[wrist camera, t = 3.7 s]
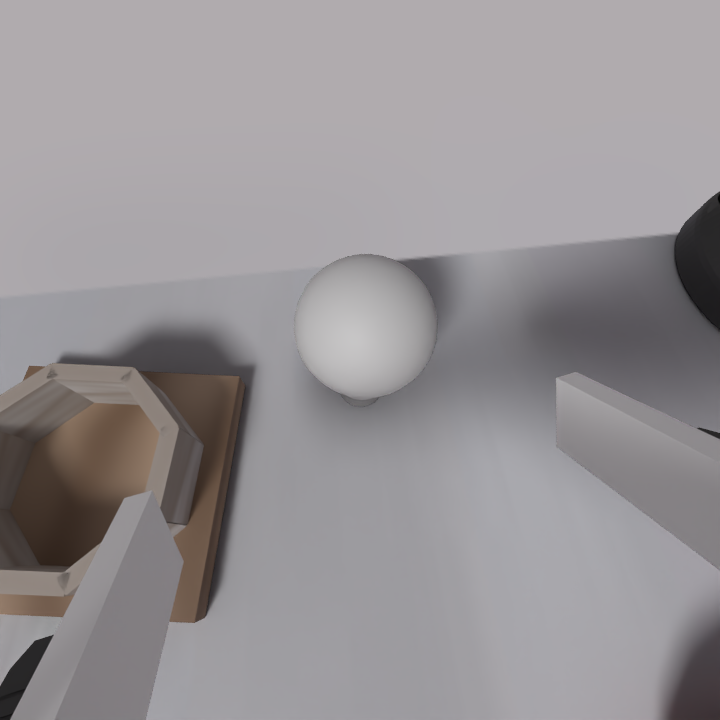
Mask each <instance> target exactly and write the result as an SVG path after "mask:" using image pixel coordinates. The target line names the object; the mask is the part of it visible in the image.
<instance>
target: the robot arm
mask: <svg viewBox="0 0 720 720" xmlns="http://www.w3.org/2000/svg"><path fill="white" fill-rule="evenodd" d="M675 251H676V263H677V267H678V271H679V274H680V276H681V279H682V281H683V283H684V285H685V288H686V289H687V291H688V293H689V294H690V296H691V297H692V299H693V300H694V302H695V303H696V304H697V306H698V307H699V308H700V310H701V311H702V312H703V313H704V314H705V315H706V316H707V317H708V318H709V320H710V321H711V322H712V323H714V324H715V325H716V326H717V327H718V328H719V329H720V192H718V193H717V194H715V195H714V196H713V197H712V198H710V199H709V200H708V201H707V202H706V203H705V204H704V205H703V206H702V207H701V208H700V209H699V210H697V211H696V212H695V213H694V214H693V215H692V216H691V217H690V218H689V219H688V220H687V221H686V222H685V224H684V225H683V227H682V228H681V230H680V232H679V234H678V238H677V242H676V250H675ZM556 426H557V447H558V448H559V449H560V450H562V451H563V452H564V453H566V454H567V455H568V456H569V457H571V458H572V459H573V460H575V461H576V462H577V463H579V464H580V465H581V466H583V467H584V468H585V469H587V470H588V471H589V472H591V473H592V474H593V475H595V476H596V477H597V478H599V479H600V480H601V481H603V482H604V483H605V484H606V485H608V486H609V487H610V488H612V489H613V490H614V491H616V492H617V493H618V494H620V495H621V496H622V497H624V498H625V499H626V500H628V501H629V502H630V503H632V504H633V505H634V506H636V507H637V508H638V509H640V510H641V511H642V512H643V513H645V514H646V515H647V516H649V517H650V518H651V519H653V520H654V521H655V522H657V523H658V524H659V525H661V526H662V527H663V528H665V529H666V530H667V531H669V532H670V533H671V534H673V535H674V536H675V537H677V538H678V539H679V540H680V541H682V542H683V543H684V544H686V545H687V546H688V547H690V548H691V549H692V550H694V551H695V552H696V553H698V554H699V555H700V556H702V557H703V558H704V559H706V560H707V561H708V562H710V563H711V564H712V565H714V566H715V567H716V568H717V569H719V570H720V433H717V432H714V431H710V430H706V429H702V428H695V427H692V426H690V425H688V424H686V423H684V422H682V421H680V420H677V419H675V418H673V417H671V416H669V415H667V414H665V413H663V412H660V411H658V410H656V409H654V408H652V407H650V406H648V405H645V404H643V403H641V402H639V401H637V400H635V399H633V398H631V397H628V396H626V395H624V394H622V393H620V392H618V391H616V390H614V389H611V388H609V387H607V386H605V385H603V384H601V383H599V382H596V381H594V380H592V379H590V378H588V377H586V376H584V375H582V374H579V373H577V372H574V373H570V374H567V375H563V376H560V377H556ZM183 562H184V561H183V559H182V557H181V554H180V552H179V550H178V548H177V545H176V543H175V541H174V539H173V536H172V534H171V532H170V530H169V527H168V525H167V523H166V521H165V518H164V516H163V514H162V511H161V509H160V507H159V505H158V502H157V500H156V498H155V496H154V493H153V491H152V490H151V491H148V492H144V493H141V494H137V495H133V496H130V497H126V498H124V500H123V502H122V504H121V506H120V507H119V509H118V511H117V513H116V515H115V517H114V519H113V521H112V523H111V525H110V527H109V529H108V531H107V533H106V535H105V537H104V539H103V540H102V542H101V544H100V546H99V548H98V550H97V552H96V554H95V556H94V558H93V560H92V562H91V564H90V566H89V568H88V570H87V572H86V573H85V575H84V577H83V579H82V581H81V583H80V585H79V587H78V589H77V591H76V593H75V595H74V597H73V599H72V601H71V603H70V604H69V606H68V608H67V610H66V612H65V614H64V616H63V618H62V620H61V622H60V624H59V626H58V628H57V630H56V632H55V634H54V635H52V636H49V637H45V638H42V639H39V640H36V641H34V643H33V644H32V645H31V646H30V647H29V648H28V649H27V650H26V652H25V653H24V654H23V655H22V656H21V657H20V658H19V660H18V661H17V662H16V663H15V664H14V665H13V666H12V668H11V669H10V670H9V672H8V674H7V675H6V677H5V679H4V681H3V682H2V684H1V686H0V720H146V716H147V712H148V708H149V703H150V699H151V695H152V691H153V687H154V683H155V679H156V674H157V670H158V666H159V662H160V658H161V654H162V649H163V645H164V641H165V637H166V633H167V629H168V625H169V620H170V616H171V612H172V608H173V604H174V600H175V596H176V591H177V587H178V583H179V579H180V575H181V571H182V567H183Z"/></svg>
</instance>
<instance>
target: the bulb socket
mask: <svg viewBox="0 0 720 720" xmlns="http://www.w3.org/2000/svg"><path fill="white" fill-rule="evenodd" d="M244 390H245V384H244V383H243V381H242V380H241V378H240V377H239V376H224V375H203V374H183V373H163V372H143V371H138V370H137V369H136V368H134V367H119V366H99V365H79V364H59V363H52V364H49V365H48V366H46V367H42V366H29V368H28V370H27V372H26V375H25V377H24V379H23V381H22V382H21V383H19V384H17V385H16V386H14V387H13V388H11V389H9V390H8V391H6V392H5V393H3V394H1V395H0V614H7V615H30V616H52V617H63V616H64V614H65V612H66V610H67V608H68V606H69V604H70V603H71V601H72V599H73V597H74V595H75V593H76V591H77V589H78V587H79V585H80V583H81V581H82V579H83V577H84V575H85V573H86V572H87V570H88V568H89V566H90V564H91V562H92V560H93V558H94V556H95V554H96V552H97V550H98V548H99V546H100V544H101V542H102V540H103V539H104V537H105V535H106V533H107V531H108V529H109V527H110V525H111V523H112V521H113V519H114V517H115V515H116V513H117V511H118V509H119V507H120V506H121V504H122V502H123V500H124V498H126V497H130V496H133V495H137V494H141V493H144V492H148V491H151V490H152V491H153V493H154V496H155V498H156V500H157V502H158V505H159V507H160V509H161V511H162V514H163V516H164V518H165V521H166V523H167V525H168V527H169V530H170V532H171V534H172V536H173V539H174V541H175V543H176V545H177V548H178V550H179V552H180V554H181V557H182V559H183V561H184V562H183V567H182V571H181V575H180V579H179V583H178V587H177V591H176V596H175V600H174V604H173V608H172V612H171V616H170V620H169V622H188V623H195V622H197V621H199V620H201V619H203V618H205V615H206V610H207V604H208V598H209V592H210V587H211V581H212V575H213V569H214V564H215V558H216V552H217V546H218V540H219V535H220V529H221V523H222V517H223V512H224V506H225V500H226V494H227V489H228V483H229V477H230V471H231V465H232V460H233V454H234V448H235V442H236V437H237V431H238V425H239V419H240V413H241V408H242V402H243V396H244Z"/></svg>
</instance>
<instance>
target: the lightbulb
mask: <svg viewBox="0 0 720 720" xmlns="http://www.w3.org/2000/svg"><path fill="white" fill-rule="evenodd" d="M437 327H438V322H437V314H436V309H435V306H434V303H433V300H432V297H431V295H430V292H429V291H428V289H427V288H426V286H425V284H424V283H423V282H422V281H421V280H420V279H419V278H418V277H417V275H416V274H415V273H414V272H412V271H411V270H410V269H409V268H407V267H406V266H404V265H403V264H401V263H399V262H397V261H395V260H393V259H390V258H387V257H384V256H379V255H372V254H359V255H353V256H348V257H345V258H342V259H339V260H337V261H335V262H333V263H331V264H329V265H327V266H326V267H324V268H323V269H322V270H321V271H319V272H318V273H317V274H316V275H315V276H314V277H313V278H312V279H311V280H310V281H309V283H308V284H307V285H306V287H305V289H304V291H303V293H302V295H301V297H300V299H299V301H298V304H297V308H296V312H295V318H294V335H295V340H296V345H297V349H298V352H299V354H300V356H301V359H302V361H303V363H304V364H305V365H306V367H307V368H308V369H309V371H310V372H311V373H312V374H313V375H314V376H315V377H316V378H317V379H318V380H319V381H320V382H321V383H322V384H324V385H325V386H327V387H328V388H330V389H332V390H333V391H335V392H338V393H341V395H342V397H343V398H344V400H345V401H346V402H348V403H349V404H351V405H353V406H357V407H365V406H368V405H371V404H372V403H374V402H375V401H376V400H377V399H378V398H379V397H381V396H385V395H389V394H391V393H393V392H396V391H398V390H400V389H401V388H403V387H404V386H406V385H407V384H409V383H410V382H411V381H413V380H414V379H415V378H416V377H417V376H418V375H419V374H420V373H421V372H422V371H423V370H424V368H425V366H426V365H427V363H428V361H429V360H430V358H431V355H432V353H433V350H434V347H435V344H436V340H437Z"/></svg>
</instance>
